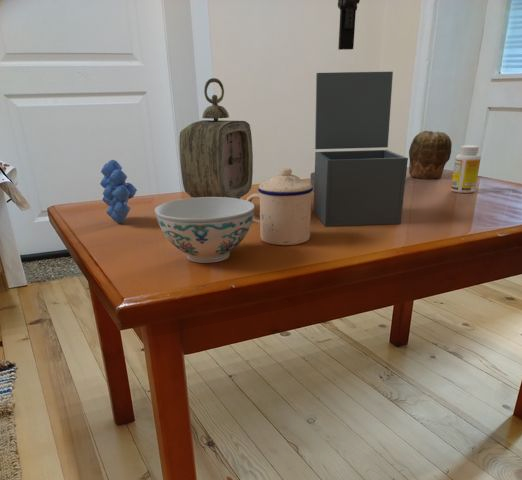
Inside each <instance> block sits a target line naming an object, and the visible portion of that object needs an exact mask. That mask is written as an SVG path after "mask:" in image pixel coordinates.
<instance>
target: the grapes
mask: <svg viewBox="0 0 522 480" xmlns="http://www.w3.org/2000/svg"><path fill="white" fill-rule="evenodd" d="M122 169H123V166H122V165H121V164H120V163H119V162H118V161H117V160H115V159H111V160H108V162H106V163H104V165H103V166H102V168H101V171H100V173H101V174H102V175H103V178H102V179H101V182H100V183H99V184H100V186H101V187H102V188H103V189H104V190H103V192H102V195H103V197H102V201H103V202H104V203H105V205H107V206H108V208H107V210H106V212H105V213H106V214H107V215H108V216H109V217H110V218H111V219H112V220H113V221H114V222H115V223H116V224H122V223H124V222H125V221H126V219H127V217H128V214H129V213H130V210H131V206H130V205H129V204H128V202H129V200H130V199H133V198H134V197H135V195H136V194H137V192H138V189H137V188H136V187H135V186H134V185H133V184H132V183H130V182H126V181H127V179H128V176H127V175H126V173H125V172H124V171H123V170H122Z"/></svg>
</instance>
